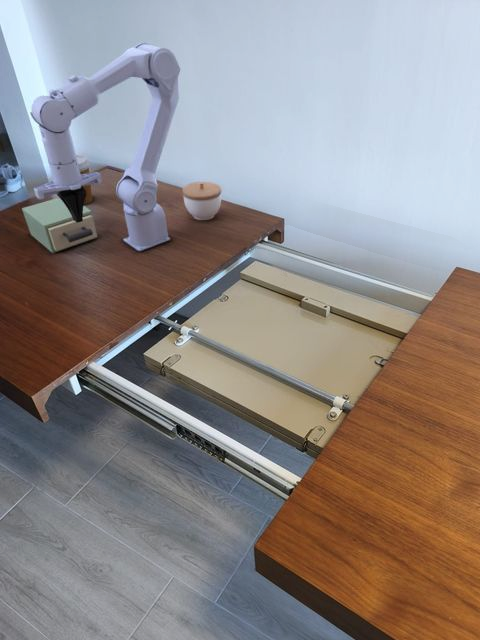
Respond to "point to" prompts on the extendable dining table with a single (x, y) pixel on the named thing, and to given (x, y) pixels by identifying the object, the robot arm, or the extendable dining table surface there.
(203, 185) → the trinket box
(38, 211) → the cabinet
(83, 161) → the disposable coffee cup
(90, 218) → the drawer
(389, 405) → the extendable dining table surface
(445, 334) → the extendable dining table surface
